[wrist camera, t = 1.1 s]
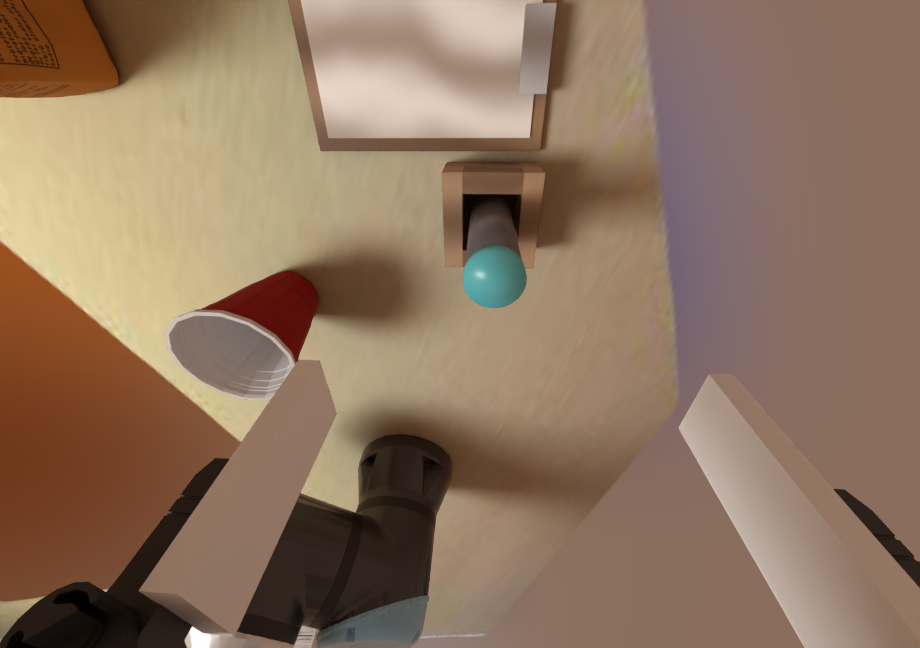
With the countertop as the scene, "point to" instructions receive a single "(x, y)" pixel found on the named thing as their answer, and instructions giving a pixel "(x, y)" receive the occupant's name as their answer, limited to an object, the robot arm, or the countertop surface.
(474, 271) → the marker
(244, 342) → the plastic cup
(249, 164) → the countertop surface
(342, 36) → the clipboard
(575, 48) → the countertop surface
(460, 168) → the stand
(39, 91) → the coffee package
